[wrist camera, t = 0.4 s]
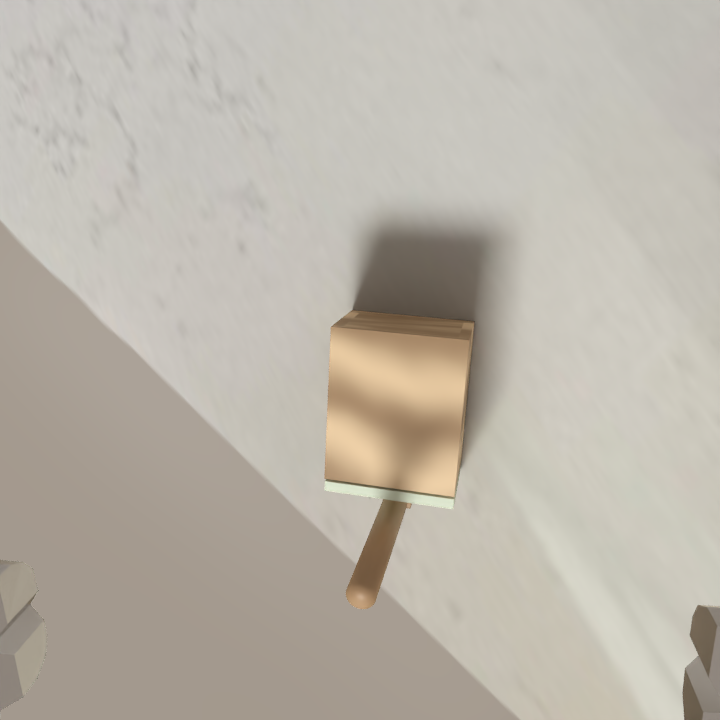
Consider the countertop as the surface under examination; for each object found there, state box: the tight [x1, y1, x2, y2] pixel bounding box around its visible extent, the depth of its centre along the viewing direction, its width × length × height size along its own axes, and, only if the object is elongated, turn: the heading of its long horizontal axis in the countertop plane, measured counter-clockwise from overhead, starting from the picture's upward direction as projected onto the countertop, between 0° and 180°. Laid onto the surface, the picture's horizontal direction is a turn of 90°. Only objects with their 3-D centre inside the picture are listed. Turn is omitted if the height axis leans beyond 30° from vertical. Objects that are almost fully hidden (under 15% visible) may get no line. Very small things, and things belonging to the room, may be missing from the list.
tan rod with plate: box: [325, 469, 460, 609], centre depth 50 cm, size 15×10×16 cm, turn 177°
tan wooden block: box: [325, 310, 474, 497], centre depth 54 cm, size 12×10×7 cm
